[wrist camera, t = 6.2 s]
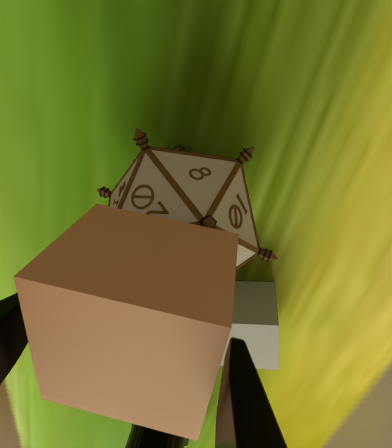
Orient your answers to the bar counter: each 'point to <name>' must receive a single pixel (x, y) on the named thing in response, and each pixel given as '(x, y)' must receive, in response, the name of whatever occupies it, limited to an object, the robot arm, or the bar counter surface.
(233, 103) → the bar counter surface
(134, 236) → the terracotta block
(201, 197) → the game die
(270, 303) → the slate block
